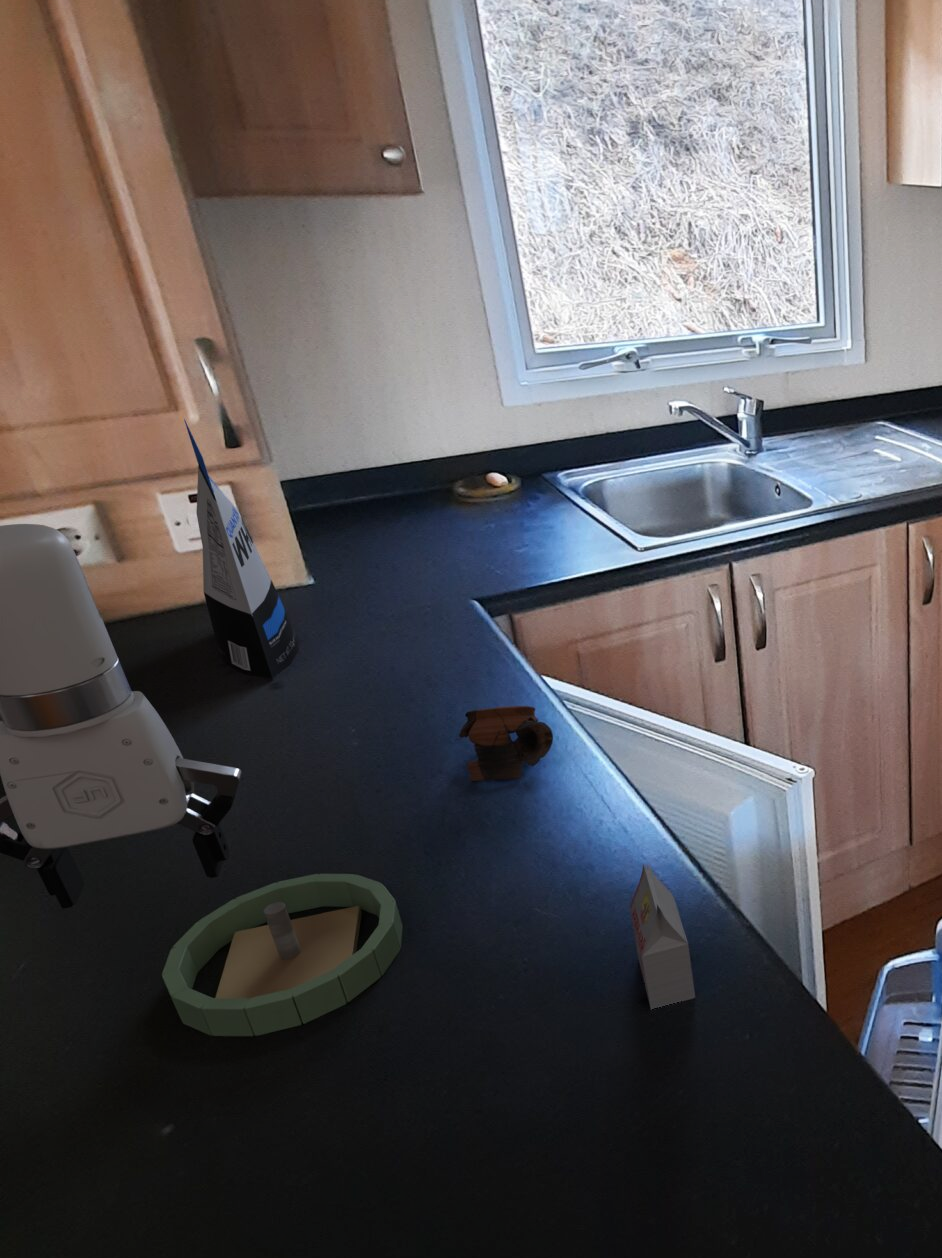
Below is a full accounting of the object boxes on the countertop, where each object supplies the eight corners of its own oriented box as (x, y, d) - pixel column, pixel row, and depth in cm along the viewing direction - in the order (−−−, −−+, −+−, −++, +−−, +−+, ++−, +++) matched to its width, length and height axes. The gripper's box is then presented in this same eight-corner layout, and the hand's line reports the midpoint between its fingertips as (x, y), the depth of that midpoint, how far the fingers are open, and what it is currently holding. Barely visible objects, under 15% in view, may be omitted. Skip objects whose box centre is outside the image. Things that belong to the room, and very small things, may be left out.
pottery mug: (443, 785, 118) (438, 712, 118) (505, 779, 127) (500, 711, 127) (530, 777, 114) (524, 702, 115) (587, 771, 123) (582, 701, 123)
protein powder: (231, 690, 136) (154, 464, 123) (210, 627, 153) (141, 423, 140) (313, 671, 141) (248, 452, 128) (284, 612, 158) (225, 414, 145)
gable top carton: (680, 947, 94) (668, 857, 90) (695, 997, 89) (682, 904, 84) (638, 958, 93) (623, 867, 88) (650, 1010, 87) (635, 916, 83)
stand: (215, 1017, 86) (192, 961, 83) (237, 940, 94) (217, 887, 92) (352, 984, 90) (334, 930, 87) (362, 913, 98) (346, 861, 95)
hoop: (152, 1061, 82) (139, 1033, 81) (199, 925, 96) (188, 899, 95) (396, 1002, 88) (388, 975, 87) (406, 881, 102) (399, 856, 101)
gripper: (-110, 742, 70) (-4, 940, 78) (191, 695, 76) (263, 883, 84) (-63, 694, 77) (31, 881, 84) (213, 654, 82) (277, 832, 90)
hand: (147, 882), depth 84 cm, fingers open, 9 cm apart
